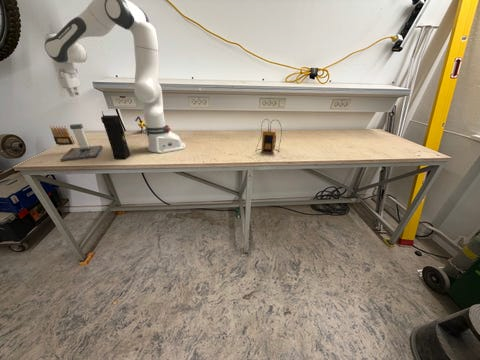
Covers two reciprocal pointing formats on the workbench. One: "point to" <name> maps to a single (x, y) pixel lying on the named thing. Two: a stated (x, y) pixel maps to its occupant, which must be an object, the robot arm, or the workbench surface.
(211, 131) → the workbench surface
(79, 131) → the fader tab
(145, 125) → the robot dog
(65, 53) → the robot arm
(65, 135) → the ammunition clip
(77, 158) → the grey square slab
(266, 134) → the multimeter
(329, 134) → the workbench surface
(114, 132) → the portable radio
